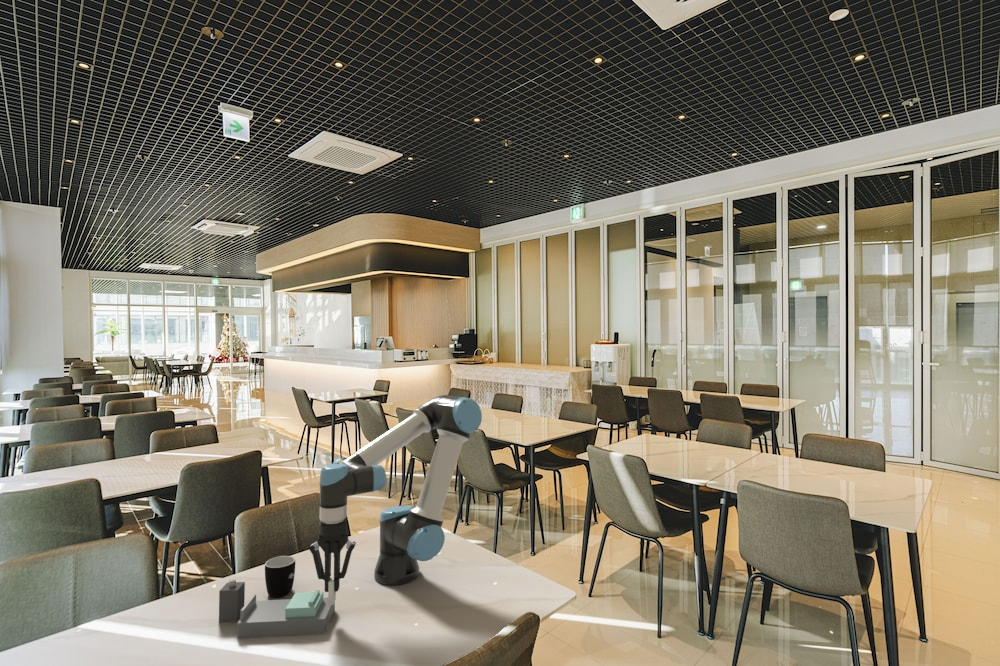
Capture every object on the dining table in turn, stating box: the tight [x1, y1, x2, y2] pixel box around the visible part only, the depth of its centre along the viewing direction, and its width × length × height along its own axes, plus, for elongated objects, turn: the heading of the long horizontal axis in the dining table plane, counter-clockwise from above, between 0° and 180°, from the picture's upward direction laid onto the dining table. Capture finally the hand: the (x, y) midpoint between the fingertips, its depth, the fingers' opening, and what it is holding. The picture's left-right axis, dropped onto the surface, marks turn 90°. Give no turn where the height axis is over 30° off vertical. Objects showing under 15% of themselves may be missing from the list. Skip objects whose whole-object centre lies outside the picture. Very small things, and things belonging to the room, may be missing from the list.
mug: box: [264, 555, 296, 599], centre depth 162 cm, size 12×9×10 cm
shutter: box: [285, 589, 324, 618], centre depth 143 cm, size 8×9×4 cm
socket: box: [236, 593, 336, 639], centre depth 143 cm, size 23×12×7 cm, turn 96°
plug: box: [218, 578, 246, 623], centre depth 146 cm, size 5×5×11 cm
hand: (331, 602), depth 144 cm, fingers closed
